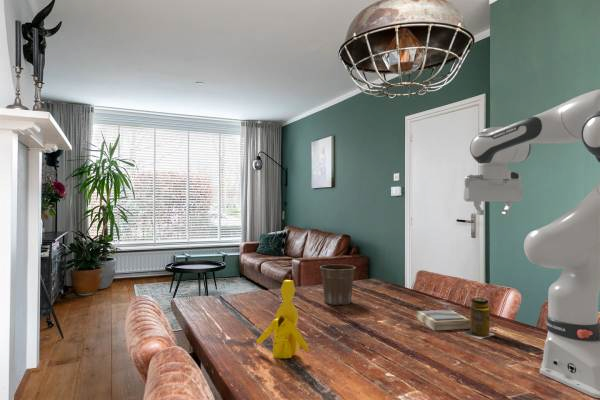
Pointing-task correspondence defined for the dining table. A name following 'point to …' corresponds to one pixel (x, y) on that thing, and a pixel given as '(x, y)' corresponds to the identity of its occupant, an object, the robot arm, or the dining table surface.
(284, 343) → the figure statuette
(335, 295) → the plant pot
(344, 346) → the dining table surface
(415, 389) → the dining table surface
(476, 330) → the condiment
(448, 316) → the base
